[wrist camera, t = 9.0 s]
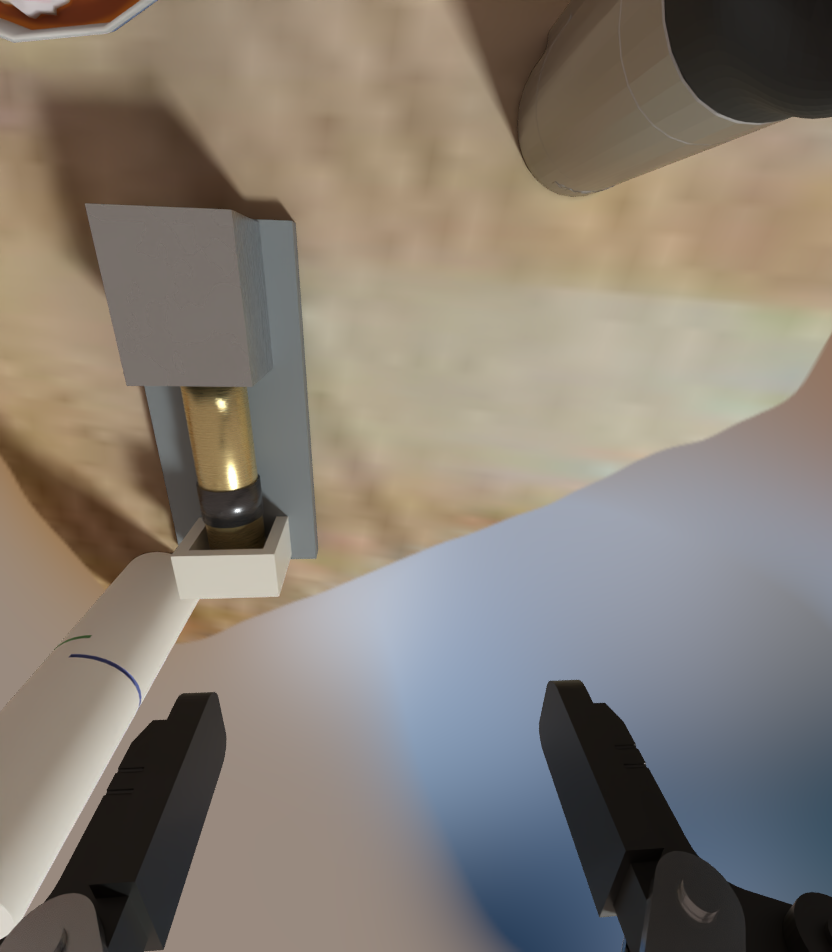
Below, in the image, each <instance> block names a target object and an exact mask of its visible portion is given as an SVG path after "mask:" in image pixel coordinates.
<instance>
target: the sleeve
mask: <svg viewBox="0 0 832 952" xmlns="http://www.w3.org/2000/svg"><path fill="white" fill-rule="evenodd" d="M85 207H86V211H87V216H88V220H89V224H90V229H91V233H92V237H93V242H94V246H95V250H96V255H97V259H98V263H99V268H100V272H101V276H102V281H103V285H104V289H105V294H106V298H107V302H108V307H109V311H110V315H111V320H112V324H113V328H114V333H115V337H116V341H117V346H118V350H119V354H120V359H121V363H122V367H123V372H124V376H125V380H126V385H127V386H202V387H253V386H254V385H255V384H256V383H257V382H258V381H260V380H261V379H262V378H263V377H264V376H265V375H266V374H267V373H268V372H270V371H271V370H272V369H273V368H274V367H273V357H272V347H271V337H270V326H269V316H268V306H267V296H266V285H265V275H264V265H263V255H262V244H261V234H260V224H259V222H257V221H254V220H252V219H250V218H248V217H246V216H244V215H242V214H240V213H237V212H235V211H233V210H228V209H205V208H182V207H158V206H135V205H111V204H88V203H85Z"/></svg>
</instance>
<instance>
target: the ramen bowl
mask: <svg viewBox="0 0 832 952" xmlns="http://www.w3.org/2000/svg"><path fill="white" fill-rule="evenodd" d="M156 1H158V0H0V38H3V39H6V40H8V41H11V42H14V43H16V42H26V41H37V40H47V39H57V38H67V37H77V36H87V35H97V34H107V33H110V32H113V31H116V30H117V29H119V28H120V27H121V26H123V25H124V24H126V23H127V22H128V21H130V20H131V19H133V18H134V17H135V16H137V15H138V14H140V13H141V12H142V11H144V10H145V9H146V8H148V7H149V6H151V5H152V4H153V3H155V2H156Z"/></svg>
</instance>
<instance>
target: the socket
mask: <svg viewBox="0 0 832 952" xmlns="http://www.w3.org/2000/svg"><path fill="white" fill-rule="evenodd" d="M291 555H292V552H291V542H290V532H289V521H288V516H276V519H275V521H274V524H273V526H272V529H271V531H270V533H269V536H268V538H267V541H266V543H265V546H264V548H263V549H231V550H210V547H209V541H208V536H207V530H206V525H205V523H204V522H203V520H202V518H198V520H197V521H196V522H195V524H194V525H193V527H192V528H191V529H190V531H189V532H188V533H187V535H186V536H185V537H184V539H183V540H182V542H181V543H180V544H179V546H178V547H177V548H176V550H175V551H174V553H173V554H172V555H171V561H172V565H173V570H174V574H175V579H176V583H177V588H178V592H179V596H180V600H181V599H214V598H247V597H279V595H280V592H281V589H282V585H283V582H284V579H285V575H286V572H287V569H288V565H289V562H290V559H291Z"/></svg>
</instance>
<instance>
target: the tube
mask: <svg viewBox="0 0 832 952" xmlns="http://www.w3.org/2000/svg"><path fill="white" fill-rule="evenodd" d="M180 388H181V394H182V399H183V405H184V410H185V415H186V421H187V426H188V432H189V437H190V443H191V448H192V454H193V459H194V465H195V470H196V476H197V483H196V488H197V493H198V498H199V504H200V509H201V515H202V520H203V522H204V523H205V525H206V530H207V536H208V541H209V547H210V550H231V549H263V548H264V546H265V543H266V538H265V530H264V522H263V513H264V506H263V498H262V490H261V481H260V475H259V474H258V473H257V465H256V457H255V449H254V440H253V432H252V424H251V416H250V408H249V400H248V392H247V387H202V386H180Z"/></svg>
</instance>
